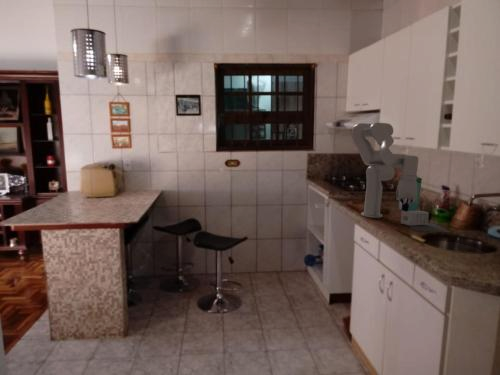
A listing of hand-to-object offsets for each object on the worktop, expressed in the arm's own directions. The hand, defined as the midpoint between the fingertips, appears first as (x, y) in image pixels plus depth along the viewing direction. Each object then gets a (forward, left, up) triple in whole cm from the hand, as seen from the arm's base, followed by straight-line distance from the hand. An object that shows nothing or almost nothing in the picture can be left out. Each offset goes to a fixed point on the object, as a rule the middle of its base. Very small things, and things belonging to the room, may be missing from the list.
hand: (404, 210), depth 201 cm
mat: (0, +12, -9) cm, 15 cm away
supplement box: (-2, +1, -4) cm, 5 cm away
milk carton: (-46, +21, -9) cm, 52 cm away
